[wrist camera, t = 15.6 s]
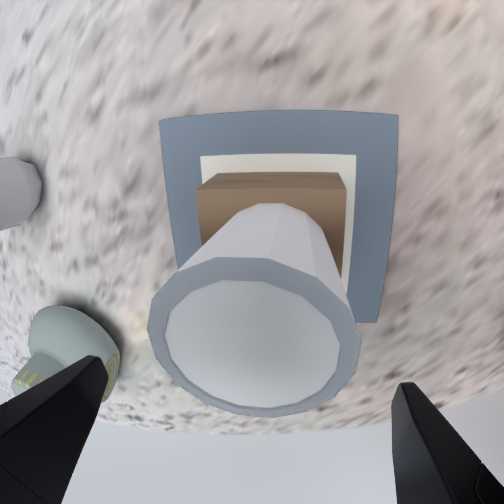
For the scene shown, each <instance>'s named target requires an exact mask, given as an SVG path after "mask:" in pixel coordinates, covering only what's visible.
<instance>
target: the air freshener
mask: <svg viewBox="0 0 504 504" xmlns="http://www.w3.org/2000/svg"><path fill="white" fill-rule="evenodd" d="M28 341H29V350H30V354H31V359H30V360H29V361H28V362H27V363H26V364H25V366H24V367H23V368H22V369H21V370H20V372H19V373H18V374H17V375H16V376H15V378H14V379H13V380H12V389H13V392H14V394H15V395H16V396H17V395H19V394H21V393H23V392H24V391H26V390H28V389H30V388H31V387H33V386H35V385H37V384H38V383H40V382H42V381H44V380H45V379H47V378H49V377H51V376H52V375H54V374H56V373H58V372H59V371H61V370H63V369H65V368H66V367H68V366H70V365H72V364H73V363H75V362H77V361H78V360H80V359H82V358H84V357H85V356H87V355H94V356H98V357H100V358H101V359H102V361H103V363H104V366H105V368H106V370H107V372H108V375H109V379H108V383H107V386H106V389H105V392H104V395H103V398H102V401H101V402H105V401H106V400H107V399H108V397H109V396H110V394H111V392H112V390H113V387H114V385H115V382H116V378H117V375H118V370H119V364H120V353H119V350H118V348H117V346H116V345H115V343H114V341H113V340H112V338H111V337H110V336H109V335H108V333H107V332H106V331H105V330H104V329H103V328H102V327H101V326H100V325H99V324H98V323H97V322H96V321H94V320H93V319H92V318H90V317H89V316H87V315H86V314H84V313H82V312H80V311H78V310H76V309H73V308H70V307H66V306H59V305H53V306H48V307H45V308H43V309H41V310H39V311H38V312H37V313H36V315H35V316H34V318H33V320H32V323H31V326H30V330H29V339H28Z"/></svg>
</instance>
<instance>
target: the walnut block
mask: <svg viewBox="0 0 504 504" xmlns="http://www.w3.org/2000/svg"><path fill="white" fill-rule="evenodd" d="M195 191H196V200H197V209H198V218H199V227H200V235H201V243H202V246H203V245H204V244H205V243H206V242H207V241H208V240H209V239H210V238H211V237H212V236H213V235H214V234H215V233H217V232H218V231H219V230H220V229H221V228H222V227H223V226H224V225H225V224H226V223H227V222H228V221H229V220H230V219H231V218H232V217H233V216H234V215H235V214H236V213H238V212H239V211H242V210H244V209H246V208H249V207H251V206H254V205H256V204H258V203H284V204H286V205H289V206H291V207H294V208H296V209H299V210H301V211H304V212H306V213H307V214H308V215H309V216H310V217H311V218H312V219H313V220H314V221H315V222H316V223H317V224H318V225H319V226H320V227H321V228H322V230H323V233H324V235H325V238H326V240H327V243H328V245H329V248H330V250H331V253H332V256H333V258H334V261H335V264H336V267H337V270H338V273H339V275H340V278H341V274H342V263H343V250H344V235H345V218H346V196H347V189H346V187H345V185H344V183H343V181H342V179H341V177H340V175H339V173H338V172H235V173H217V174H215V175H214V176H213V177H212V178H210V179H209V180H208V181H206V182H205V183H204V184H202V185H201V186H200V187H198V188H197V189H196V190H195Z"/></svg>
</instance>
